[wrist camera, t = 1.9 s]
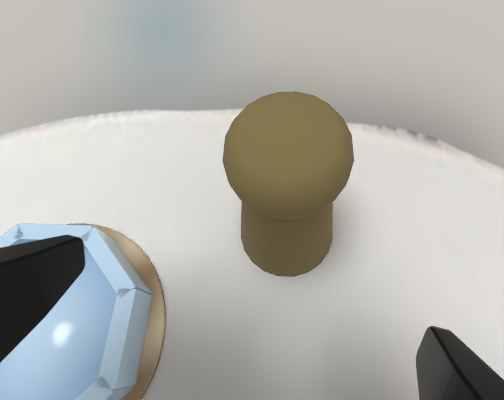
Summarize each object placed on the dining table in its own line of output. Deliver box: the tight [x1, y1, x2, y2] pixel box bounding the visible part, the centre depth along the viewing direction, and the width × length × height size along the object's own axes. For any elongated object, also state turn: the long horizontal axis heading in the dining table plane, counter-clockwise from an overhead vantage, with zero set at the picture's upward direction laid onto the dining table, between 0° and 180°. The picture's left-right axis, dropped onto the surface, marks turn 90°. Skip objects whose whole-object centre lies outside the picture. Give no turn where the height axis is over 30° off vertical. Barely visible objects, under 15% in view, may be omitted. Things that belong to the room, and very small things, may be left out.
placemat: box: [67, 224, 165, 400], centre depth 20 cm, size 14×14×1 cm
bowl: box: [0, 223, 152, 400], centre depth 19 cm, size 12×12×2 cm
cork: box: [223, 92, 354, 276], centre depth 17 cm, size 6×6×11 cm
